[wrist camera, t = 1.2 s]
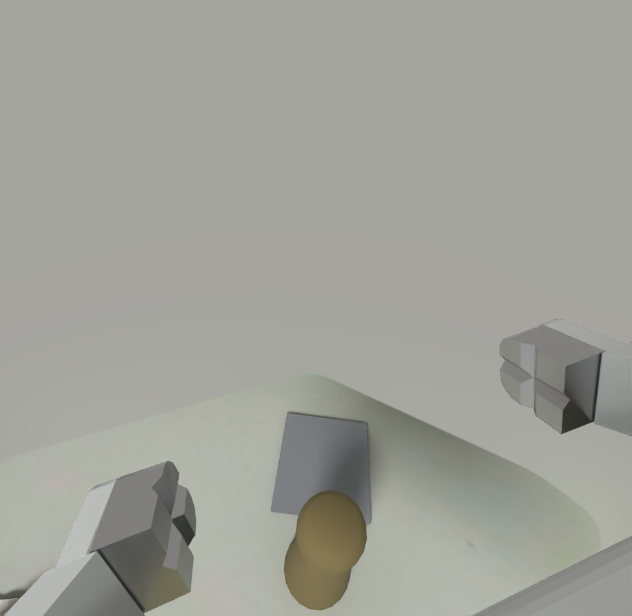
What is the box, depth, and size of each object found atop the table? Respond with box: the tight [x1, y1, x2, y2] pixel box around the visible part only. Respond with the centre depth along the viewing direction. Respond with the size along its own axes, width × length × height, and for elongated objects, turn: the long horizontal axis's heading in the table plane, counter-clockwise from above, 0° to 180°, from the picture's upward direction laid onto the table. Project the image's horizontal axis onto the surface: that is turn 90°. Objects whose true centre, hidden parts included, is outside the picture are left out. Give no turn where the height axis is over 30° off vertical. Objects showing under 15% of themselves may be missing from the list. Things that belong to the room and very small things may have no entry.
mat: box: [271, 413, 371, 524], centre depth 38 cm, size 10×11×1 cm
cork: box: [284, 490, 367, 610], centre depth 27 cm, size 6×6×11 cm
